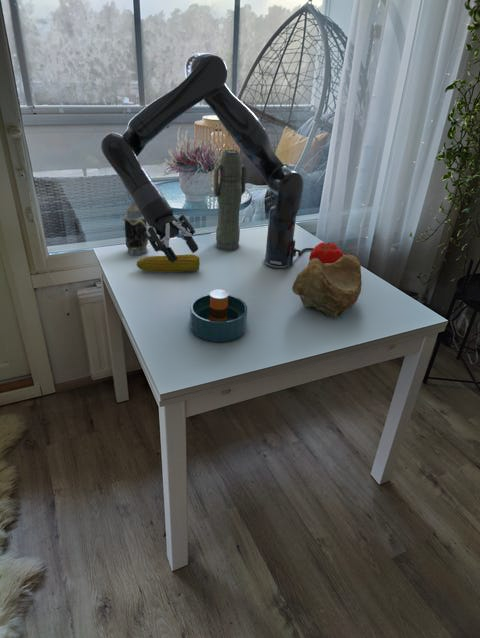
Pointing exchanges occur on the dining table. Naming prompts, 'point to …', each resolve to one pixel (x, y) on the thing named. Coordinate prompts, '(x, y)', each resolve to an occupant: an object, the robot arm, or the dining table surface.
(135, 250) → the lantern
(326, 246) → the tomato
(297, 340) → the dining table surface
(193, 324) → the bowl
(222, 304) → the tube
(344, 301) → the rough brown rock
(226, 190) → the thermos
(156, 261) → the food
